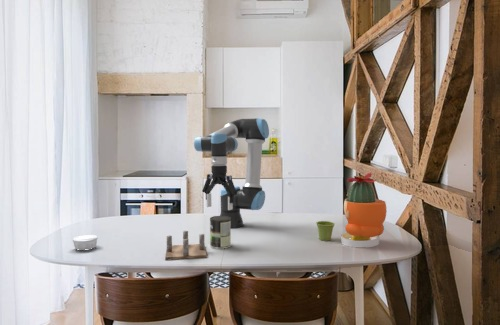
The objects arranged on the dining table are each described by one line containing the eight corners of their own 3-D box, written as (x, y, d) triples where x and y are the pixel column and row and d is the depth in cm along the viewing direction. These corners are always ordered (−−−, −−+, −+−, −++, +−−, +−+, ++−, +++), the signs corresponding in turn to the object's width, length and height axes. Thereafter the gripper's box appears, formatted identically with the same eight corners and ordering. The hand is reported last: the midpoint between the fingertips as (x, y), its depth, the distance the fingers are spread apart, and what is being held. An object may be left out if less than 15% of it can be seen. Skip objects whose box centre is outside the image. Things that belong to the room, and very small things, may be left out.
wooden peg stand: (204, 246, 193) (204, 229, 192) (206, 257, 175) (206, 239, 174) (166, 248, 190) (166, 231, 189) (165, 259, 172) (164, 241, 171)
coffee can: (209, 249, 187) (209, 220, 186) (210, 243, 198) (210, 215, 197) (231, 248, 188) (231, 220, 187) (230, 242, 199) (230, 215, 197)
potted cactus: (333, 242, 199) (334, 174, 196) (360, 235, 213) (361, 171, 210) (368, 252, 182) (370, 177, 179) (396, 244, 195) (398, 174, 193)
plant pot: (335, 237, 207) (335, 221, 206) (333, 242, 198) (333, 225, 198) (317, 236, 210) (317, 220, 209) (314, 241, 201) (314, 224, 201)
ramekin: (82, 253, 182) (82, 242, 182) (68, 249, 188) (67, 238, 188) (102, 247, 192) (102, 236, 191) (88, 243, 198) (88, 233, 197)
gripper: (195, 164, 194) (195, 206, 196) (234, 166, 180) (234, 212, 181) (205, 163, 200) (205, 204, 202) (244, 165, 186) (244, 209, 187)
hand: (219, 208), depth 192 cm, fingers open, 13 cm apart
